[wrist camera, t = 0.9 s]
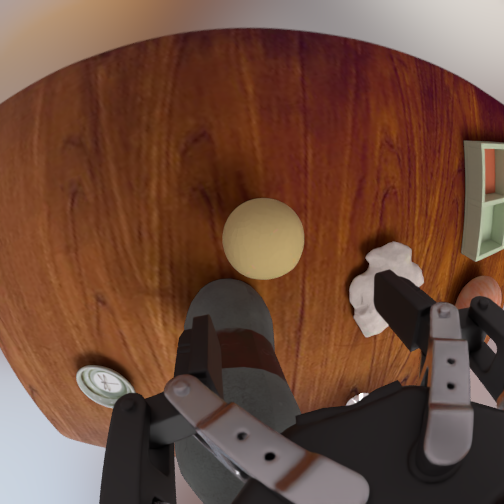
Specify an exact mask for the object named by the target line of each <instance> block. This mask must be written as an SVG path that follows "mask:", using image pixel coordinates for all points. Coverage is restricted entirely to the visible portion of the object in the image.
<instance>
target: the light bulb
mask: <svg viewBox="0 0 504 504" xmlns="http://www.w3.org/2000/svg"><path fill="white" fill-rule="evenodd" d="M303 246H304V231H303V227H302V224H301V221H300V219H299V218H298V216H297V214H296V213H295V212H294V211H293V210H292V209H291V208H290V207H289V206H287V205H286V204H284V203H282V202H280V201H278V200H275V199H270V198H256V199H252V200H249V201H247V202H245V203H243V204H241V205H240V206H238V207H237V208H236V209H235V210H234V211H233V212H232V213H231V214H230V216H229V217H228V219H227V221H226V223H225V226H224V230H223V247H224V251H225V254H226V256H227V259H228V261H229V262H230V263H231V265H232V266H233V267H234V268H235V269H236V270H237V271H238V272H239V273H241V274H243V275H244V276H246V277H249V278H253V279H263V280H267V279H273V278H277V277H280V276H282V275H284V274H287V273H288V272H289V271H291V270H292V269H293V268H294V267H295V265H296V264H297V263H298V261H299V259H300V257H301V254H302V251H303Z"/></svg>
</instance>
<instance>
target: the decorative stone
mask: <svg viewBox="0 0 504 504" xmlns="http://www.w3.org/2000/svg"><path fill="white" fill-rule="evenodd" d="M411 253H412V250H411V249H410V248H409V247H408V246H406V245H404V244H401V243H398V242H395V241H394V242H391V243H387V244H386V245H384V246H382V247H379V248H376V249H373V250H371V251H370V252H369V253H368V254H367V255H366V257H365V258H366V260H367V261H368V262H369V268H368V270H367V271H366V272H365V273H363V274H361V275H358V276H356V277H355V278H354V279H353V281H352V283H351V285H350V289H349V292H350V295H349V299H350V303H352V305H353V307H354V308H355V310H354V313H355V314H354V316H353V318H354V319H355V320H356V323H357V324H358V326H359V327H360V329H361V331H362V333H363V334H364V336H365V337H370V336H372V335H375V334H379V333H381V332H382V331H383V330H384V329H385V328H386V327H388V326H389V325H388V324H387V323H386V322H385V320H384V319H383V318H382V317H381V316H380V315H379V313H378V312H377V311H376V309H375V306H374V301H373V299H374V276H375V274H376V273H378V272H382V271H385V270H388V269H390V270H392V271H393V272H394V273H395V274H396V275H398V276H402V277H404V278H407V279H409V280H410V281H412V282H413V283H414V284H415V285H416V286H418V287H420V286H421V285H422V284H423V283H424V278H423V276H422V270H421V269H420V268H419V266H418V265H417V264H415V263H413V262H412V261H411Z"/></svg>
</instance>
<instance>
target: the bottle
mask: <svg viewBox="0 0 504 504" xmlns="http://www.w3.org/2000/svg"><path fill="white" fill-rule="evenodd" d="M207 314H209V315H210V317H211V319H212V322H213V325H214V328H215V331H216V334H217V337H218V340H219V343H220V348H221V361H222V379H223V395H224V401H225V402H226V403H228V404H229V403H230V402H234V403H236V404H238V405H239V406H240V407H242V408H243V409H244V410H246V411H247V412H249V413H250V414H251V415H253V416H254V417H256V418H257V419H259V420H260V421H261V422H263V423H264V424H266V425H267V426H269V427H270V428H272V429H273V430H275V431H276V432H278V433H282V432H283V431H284V430H285V429H287V428H289V427H290V426H292V425H294V424H296V418H295V416H296V415H300V414H301V412H300V409H299V407H298V405H297V403H296V401H295V398H294V396H293V394H292V392H291V390H290V388H289V386H288V384H287V381H286V379H285V377H284V374H283V372H282V369H281V367H280V364H279V362H278V359H277V357H276V354H275V348H274V333H273V324H272V319H271V316H270V313H269V310H268V308H267V306H266V304H265V303H264V301H263V299H262V298H261V296H260V295H259V294H258V293H257V292H256V291H255V290H254V289H253V288H252V287H251V286H250V285H248V284H246V283H245V282H243V281H240V280H236V279H219V280H216V281H213V282H210V283H208V284H207V285H206V286H204V287H203V288H202V289H201V290H200V291H199V292H198V294H197V295H196V296H195V298H194V299H193V301H192V302H191V305H190V307H189V310H188V313H187V316H186V320H185V325H184V330H187V329H192V323H193V317H197V316H202V315H207ZM175 452H176V458H177V462H178V465H179V468H180V471H181V474H182V476H183V477H184V479H185V480H186V482H187V483H188V484H189V486H190V487H191V488H192V490H193V491H194V492H195V494H196V495H197V496H198V497H199V498H200V500H201V501H202V502H203V503H204V504H231V503H232V501H233V500H234V499H235V497H236V496H237V494H238V493H239V492H240V490H241V489H242V487H243V486H244V484H245V483H243V482H242V481H241V480H240V479H238V478H237V477H236V476H235V475H234V474H233V473H231V472H230V471H229V470H228V469H227V468H226V467H225V466H224V465H223V464H222V463H221V462H220V461H219V460H218V459H217V458H216V457H215V456H214V455H213V454H212V453H211V452H210V451H208V450H207V449H206V448H205V447H204V446H203V445H202V444H201V443H200V442H199V441H198V440H197V439H196V438H195V437H194V436H190V437H188V438H185V439H182V440H179V441H177V442H175Z"/></svg>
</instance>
